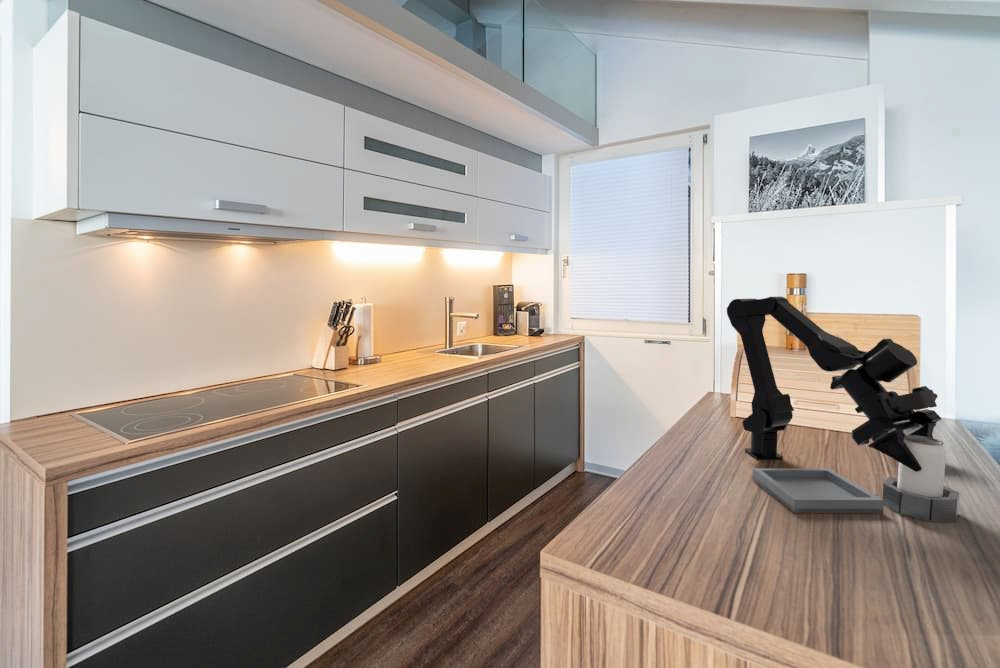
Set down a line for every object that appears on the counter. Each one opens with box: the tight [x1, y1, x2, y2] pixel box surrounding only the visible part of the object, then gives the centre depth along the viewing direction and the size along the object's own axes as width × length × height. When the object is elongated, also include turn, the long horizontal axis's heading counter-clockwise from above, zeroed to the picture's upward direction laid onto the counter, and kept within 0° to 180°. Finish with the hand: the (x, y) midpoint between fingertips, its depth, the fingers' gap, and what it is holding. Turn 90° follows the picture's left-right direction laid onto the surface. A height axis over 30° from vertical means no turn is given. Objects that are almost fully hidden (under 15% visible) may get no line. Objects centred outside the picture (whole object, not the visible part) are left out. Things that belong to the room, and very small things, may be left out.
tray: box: [752, 467, 884, 514], centre depth 100 cm, size 16×16×2 cm
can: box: [897, 435, 947, 497], centre depth 93 cm, size 6×6×12 cm
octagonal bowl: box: [882, 476, 961, 523], centre depth 93 cm, size 10×10×4 cm
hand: (930, 467), depth 91 cm, fingers closed on can, 6 cm apart
